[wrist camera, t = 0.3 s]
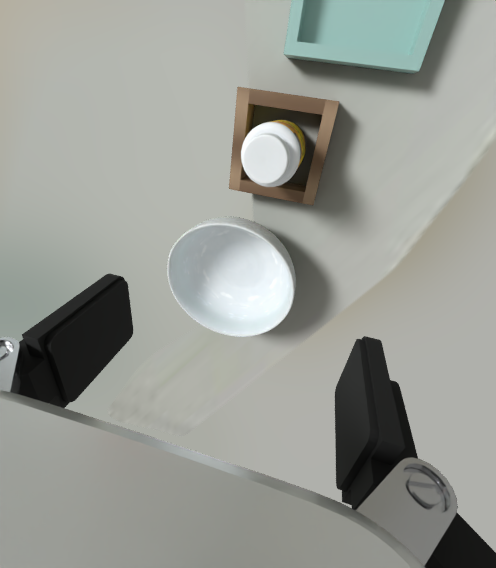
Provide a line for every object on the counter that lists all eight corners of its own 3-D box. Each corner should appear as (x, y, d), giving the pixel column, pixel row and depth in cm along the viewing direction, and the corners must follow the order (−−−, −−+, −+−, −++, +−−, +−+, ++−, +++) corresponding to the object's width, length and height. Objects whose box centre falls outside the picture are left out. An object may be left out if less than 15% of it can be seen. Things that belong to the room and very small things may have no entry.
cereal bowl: (301, 205, 36) (295, 224, 30) (299, 312, 44) (294, 344, 39) (178, 205, 40) (151, 222, 34) (197, 303, 49) (179, 331, 43)
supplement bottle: (316, 151, 32) (310, 168, 24) (276, 182, 35) (259, 205, 27) (288, 106, 31) (271, 106, 22) (248, 141, 34) (220, 153, 25)
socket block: (245, 88, 31) (237, 86, 28) (338, 101, 30) (339, 101, 27) (236, 183, 36) (228, 188, 34) (314, 198, 35) (313, 205, 33)
